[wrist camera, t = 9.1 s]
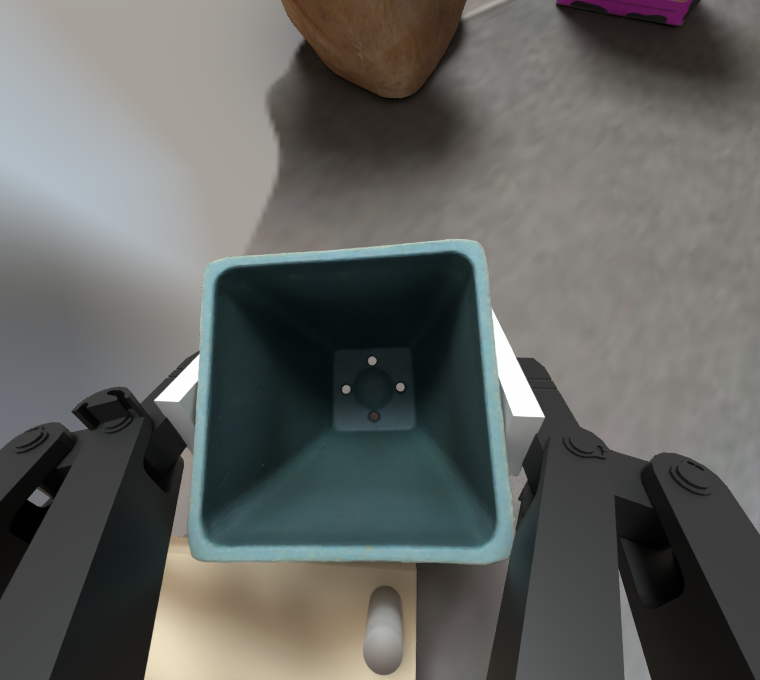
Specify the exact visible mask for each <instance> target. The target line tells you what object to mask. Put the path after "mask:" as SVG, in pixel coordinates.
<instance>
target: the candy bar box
mask: <svg viewBox="0 0 760 680" xmlns="http://www.w3.org/2000/svg"><path fill="white" fill-rule="evenodd" d="M700 1H701V0H557V3H558V4H560V5H564V6H570V7H575V8H580V9H585V10H592V11H596V12H602V13H608V14H613V15H619V16H624V17H630V18H635V19H642V20H647V21H652V22H659V23H664V24H669V25H675V26H678V25H679V26H680V25H682V23H683V22H684V21H685V20H686V18H687V17H688V16H689V14H690V13H691V12H692V11H693V9H694V8H695V7H696V6H697V4H698V3H699V2H700Z"/></svg>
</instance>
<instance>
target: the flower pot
mask: <svg viewBox="0 0 760 680" xmlns="http://www.w3.org/2000/svg"><path fill="white" fill-rule="evenodd" d="M200 321H201V322H200V339H201V340H200V345H199V347H200V357H199V369H198V388H197V401H196V418H195V421H196V424H195V435H194V450H193V451H194V455H193V464H192V479H191V492H190V501H189V513H188V518H187V534H188V543H189V548H190V552H191V555H192V557H193V558H194V559H196V560H198V561H201V562H214V563H234V562H242V563H243V562H254V563H256V562H282V561H283V562H292V561H294V562H309V561H313V562H321V561H322V562H330V561H333V562H357V561H365V562H381V561H382V562H402V563H404V562H406V563H409V562H413V563H443V564H444V563H457V564H466V565H487V564H493V563H497V562H501V561H505V560H507V559H509V558H510V556H511V551H512V546H513V541H514V537H515V533H516V527H515V517H514V511H513V505H512V492H511V486H510V479H509V466H508V461H507V452H506V442H505V433H504V422H503V413H502V407H501V396H500V388H499V379H498V366H497V358H496V350H495V339H494V326H493V318H492V308H491V298H490V284H489V275H488V265H487V259H486V254H485V251H484V249H483V247H482V245H481V244H480V243H479V242H477V241H472V240H466V239H452V240H451V239H449V240H447V239H445V240H438V241H428V242H417V243H407V244H395V245H387V246H379V247H374V246H373V247H367V248H352V249H341V250H328V251H310V252H298V253H296V252H294V253H280V254H267V255H249V256H236V257H227V258H223V259H219V260H216V261H213V262H211V263H209V264H208V265H207V266H206V268H205V273H204V279H203V286H202V304H201V320H200ZM372 356H373V357H375V358H376V359H377V362H376V364H375V365H369V363H368V358H370V357H372ZM398 383H403V384H404V386H405V389H404V390H403V391H401V392H400V391H398V390H397V389H396V385H397V384H398ZM344 385H348V386H350V388H351V390H350V392H349V393H348V394H344V393H343V392H342V387H343V386H344ZM372 412H375V413H377V414H378V416H379V417H378V419H377V420H376V421H372V420H371V419H370V414H371V413H372Z"/></svg>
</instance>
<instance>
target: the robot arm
mask: <svg viewBox="0 0 760 680" xmlns="http://www.w3.org/2000/svg"><path fill="white" fill-rule="evenodd" d="M492 318H493V326H494V339H495V350H496V358H497V366H498V379H499V388H500V396H501V407H502V413H503V422H504V433H505V442H506V452H507V461H508V466H509V476H518V475H519V472H520V470H521V468H522V466H523V468H524V471H525V474H526V476H527V479H528V480H527V482H526V484H525V486H524V488H523V490H522V492H521V494H520V496H519V498H518V500H519V501H521V505H520V510H519V516H518V521H517V526H516V533H515V537H514V541H513V546H512V551H511V556H510V561H509V566H508V571H507V577H506V582H505V587H504V592H503V597H502V602H501V607H500V612H499V617H498V622H497V627H496V633H495V638H494V643H493V648H492V653H491V658H490V663H489V668H488V673H487V678H486V680H624V662H623V644H622V626H621V608H620V590H619V572H618V568H619V571H620V575H621V578H622V581H623V585H624V588H625V592H626V595H627V598H628V602H629V605H630V609H631V612H632V615H633V619H634V622H635V625H636V629H637V632H638V636H639V639H640V642H641V646H642V649H643V653H644V656H645V659H646V663H647V666H648V670H649V673H650V676H651V680H760V535H759V533H758V532H757V530H756V529H755V527H754V526H753V524H752V523H751V521H750V520H749V518H748V517H747V515H746V514H745V512H744V511H743V509H742V508H741V506H740V505H739V503H738V502H737V500H736V499H735V497H734V496H733V494H732V493H731V491H730V490H729V488H728V487H727V486H726V485H725V484H724V483H723V482H722V480H721V479H720V478H719V477H718V476H717V475H716V474H714V473H713V472H712V471H710V470H709V469H708V468H706V467H705V466H704V465H702V464H700V463H698V462H696V461H694V460H692V459H690V458H688V457H685V456H682V455H679V454H676V453H664V452H663V453H660V454H658V455H655V456H654V457H653V458H652V459H651V460H650V462H648V461H645V460H641V459H638V458H635V457H631V456H628V455H624V454H621V453H618V452H615V451H612V450H610V449H609V448H608V447H607V446H606V445H605V443H604V442H603V441H602V440H601V439H600V438H598V437H597V436H596V435H595V434H593V433H592V432H590V431H588V430H586V429H583V428H581V427H580V426H579V424H578V423H577V421H576V419H575V418H574V416H573V414H572V413H571V411H570V409H569V408H568V406H567V404H566V403H565V401H564V399H563V398H562V396H561V394H560V392H559V391H558V390H557V387H556V386H555V384H554V382H553V381H551V377H550V376H549V374H548V372H547V371H546V369H545V367H543V366H542V365H541V364H540V363H538V362H537V361H536V360H535V359H534V358H516V357H515V355H514V353H513V351H512V349H511V347H510V345H509V343H508V340H507V338H506V336H505V334H504V332H503V330H502V328H501V326H500V324H499V322H498V320H497V318H496V316H495V314H494V312H493V310H492ZM199 357H200V351H198V352H196V353H195V354H193V355H192V356H190V357H188V358H187V359H185V360H184V361H183V362H182V363H181V364H180V365H179V366H178V367H177V370H174V371H173V372H172V373H171V374H170V375H169V378H166V379H165V380H164V381H163V382H162V383H161V384H160V385H159V386H158V387H157V388H156V389H155V390H154V391H153V392H152V393H151V394H150V395H149V396H148V397H147V398H146V399H145V400H144V401H143V402H142V403H141V404H140V403H139V402H138V401H137V399H136V398H135V397H134V395H133V394H132V393H131V391H129V389H127V388H124V387H114V388H109V389H106V390H103V391H100V392H97V393H95V394H93V395H91V396H89V397H87V398H86V399H85V400H83V401H82V402H80V403H79V404H78V405H77V406H76V407H75V408H74V409H73V410H72V411H71V412H72V413H73V414H74V415H75V416H76V417H77V418H78V419H79V420H80V421H82V423H83V424H84V425H85V426H86V427H87V428H88V429H85V430H81V431H76V432H70V431H69V430H68V429H67V428H65V426H63V425H62V424H61V423H55V422H54V423H52V422H51V423H47V424H43V425H39V426H36V427H34V428H31V429H29V430H27V431H25V432H24V433H22V434H20V435H19V436H17V437H15V438H14V439H13V440H11V441H10V442H9V443H8V444H7V445H5V446H4V447H3V448H2V449H1V450H0V680H144V678H145V672H146V667H147V662H148V656H149V651H150V645H151V640H152V635H153V629H154V624H155V618H156V613H157V608H158V602H159V597H160V592H161V586H162V581H163V575H164V570H165V565H166V559H167V554H168V549H169V543H170V538H171V532H172V527H173V522H174V516H175V511H176V505H177V500H178V495H179V489H180V484H181V479H182V473H183V468H184V460H183V459H182V457H181V456H180V455H181V453H182V452H183V451H184V449H185V448H186V446H187V447H188V449H189V450H190V451H191V453H192V454H193V455H194V451H193V450H194V435H195V424H196V421H195V418H196V401H197V388H198V369H199ZM36 488H37V489H38V490H40V491H41V492H43V493H44V494H46V495H47V496H49V497H50V498H49V500H48V501H47V502H46V503H45V504H44V505H42V506H41V507H39V506H36V505H35V504H33V503H31V502H30V501H28V500H27V499H28V498H29V497H30V495H31V494H32V493H33V492H34V491H35V490H36Z"/></svg>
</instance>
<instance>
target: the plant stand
mask: <svg viewBox="0 0 760 680" xmlns="http://www.w3.org/2000/svg"><path fill="white" fill-rule="evenodd" d="M416 595H417V570H416V563H413V562H409V563H406V562H404V563H402V562H382V561H381V562H365V561H357V562H333V561H330V562H322V561H321V562H313V561H309V562H294V561H292V562H283V561H282V562H256V563H254V562H243V563H242V562H234V563H214V562H201V561H198V560H196V559H194V558H193V557H192V555H191V552H190V548H189V543H188V534H186V535H185V536H184V537H172V536H171V538H170V543H169V549H168V554H167V559H166V565H165V570H164V575H163V581H162V586H161V592H160V597H159V602H158V608H157V613H156V618H155V624H154V629H153V635H152V640H151V645H150V651H149V656H148V662H147V667H146V672H145V678H144V680H416Z"/></svg>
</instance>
